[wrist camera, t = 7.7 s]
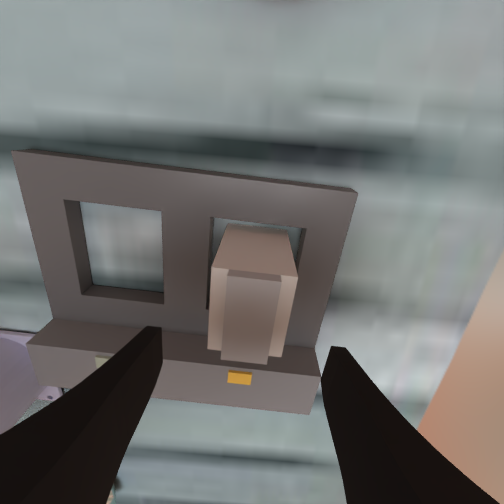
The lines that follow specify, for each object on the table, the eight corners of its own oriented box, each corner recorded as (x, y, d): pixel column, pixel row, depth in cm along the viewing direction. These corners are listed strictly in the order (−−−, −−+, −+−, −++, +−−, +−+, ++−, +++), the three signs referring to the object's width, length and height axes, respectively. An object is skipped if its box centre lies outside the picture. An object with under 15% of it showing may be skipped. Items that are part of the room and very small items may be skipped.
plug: (223, 285, 20) (205, 357, 14) (228, 222, 18) (209, 273, 12) (276, 291, 20) (282, 366, 14) (286, 229, 18) (299, 283, 12)
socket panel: (74, 344, 23) (36, 387, 19) (30, 149, 16) (-41, 154, 12) (301, 370, 23) (309, 417, 19) (350, 188, 17) (377, 205, 13)
